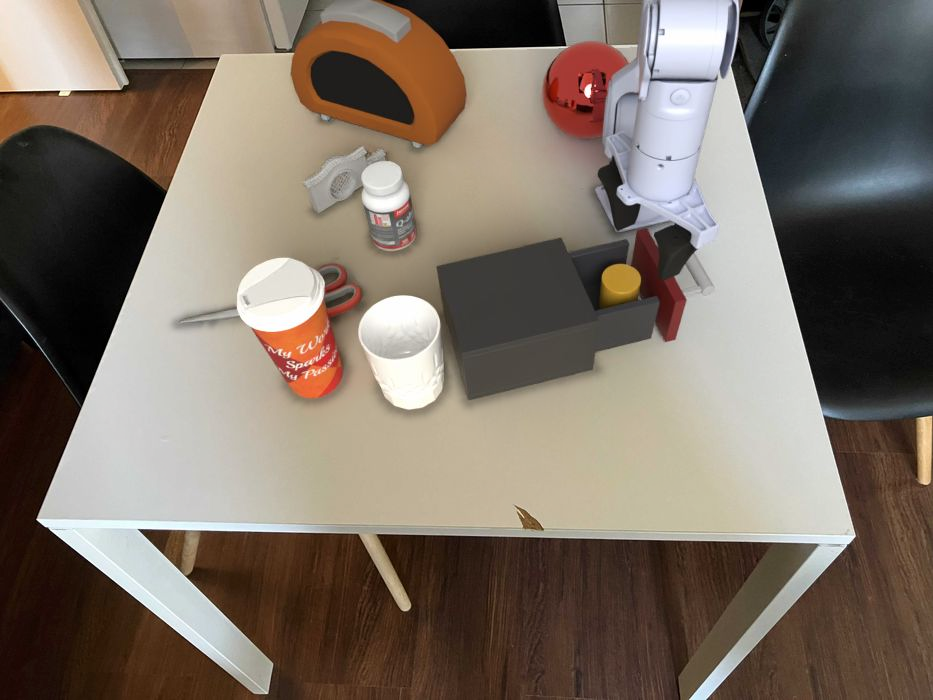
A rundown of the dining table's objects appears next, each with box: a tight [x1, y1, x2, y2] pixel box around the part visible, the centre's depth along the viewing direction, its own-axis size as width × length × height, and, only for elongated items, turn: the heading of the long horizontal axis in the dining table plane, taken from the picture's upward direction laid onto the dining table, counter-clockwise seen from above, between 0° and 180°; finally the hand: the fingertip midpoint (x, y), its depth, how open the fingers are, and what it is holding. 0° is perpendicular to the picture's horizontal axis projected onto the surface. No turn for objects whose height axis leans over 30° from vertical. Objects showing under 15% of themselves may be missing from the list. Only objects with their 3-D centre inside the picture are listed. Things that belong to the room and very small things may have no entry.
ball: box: [541, 40, 636, 140], centre depth 94 cm, size 12×12×12 cm
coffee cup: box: [236, 257, 343, 399], centre depth 72 cm, size 8×8×15 cm
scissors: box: [178, 263, 363, 324], centre depth 83 cm, size 8×21×2 cm, turn 112°
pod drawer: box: [568, 227, 716, 353], centre depth 76 cm, size 17×10×7 cm, turn 104°
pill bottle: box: [361, 160, 417, 252], centre depth 85 cm, size 6×6×10 cm
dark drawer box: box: [436, 237, 599, 401], centre depth 75 cm, size 14×12×9 cm
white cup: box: [357, 294, 445, 410], centre depth 73 cm, size 8×8×10 cm
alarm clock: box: [290, 0, 468, 149], centre depth 96 cm, size 23×9×17 cm, turn 62°
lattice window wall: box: [301, 145, 387, 214], centre depth 93 cm, size 12×2×6 cm, turn 132°
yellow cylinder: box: [598, 263, 641, 310], centre depth 76 cm, size 4×4×5 cm
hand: (646, 249), depth 71 cm, fingers open, 7 cm apart
